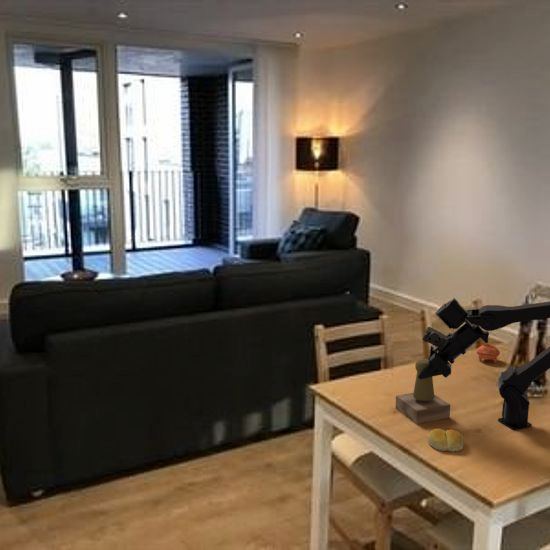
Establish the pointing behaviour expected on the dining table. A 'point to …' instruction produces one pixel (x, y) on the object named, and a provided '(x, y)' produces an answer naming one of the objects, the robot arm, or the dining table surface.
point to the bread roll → (446, 440)
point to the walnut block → (422, 408)
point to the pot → (488, 352)
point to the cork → (423, 383)
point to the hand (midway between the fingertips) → (419, 374)
